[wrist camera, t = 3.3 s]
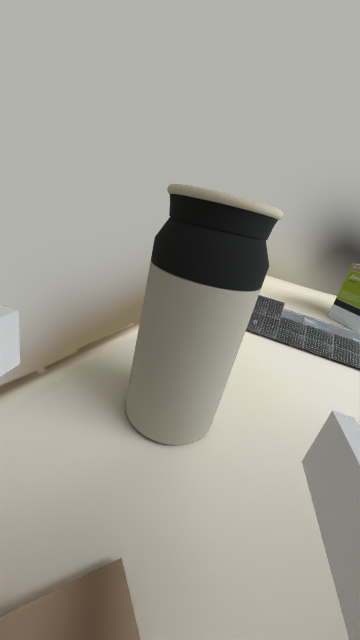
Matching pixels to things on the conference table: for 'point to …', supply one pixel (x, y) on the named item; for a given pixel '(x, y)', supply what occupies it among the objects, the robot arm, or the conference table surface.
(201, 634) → the conference table surface
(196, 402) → the travel mug
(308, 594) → the conference table surface
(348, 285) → the tea box
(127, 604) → the cork mat
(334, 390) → the conference table surface
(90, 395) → the conference table surface
